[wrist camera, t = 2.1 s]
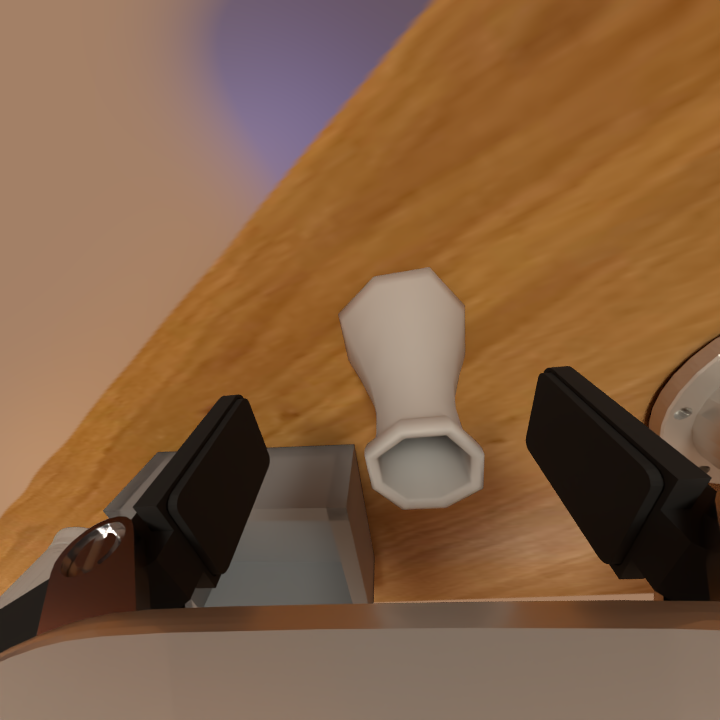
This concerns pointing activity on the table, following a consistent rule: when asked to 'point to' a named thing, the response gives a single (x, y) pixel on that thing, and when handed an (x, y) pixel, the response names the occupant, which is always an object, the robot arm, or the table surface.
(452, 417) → the flask
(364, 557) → the charcoal box
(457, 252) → the table surface
